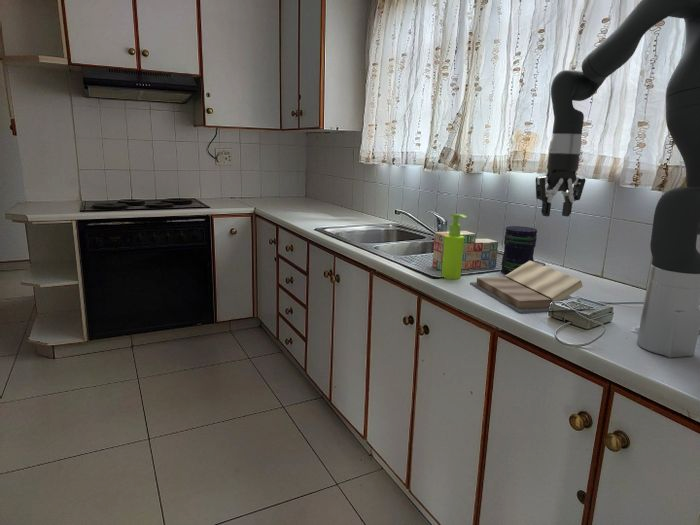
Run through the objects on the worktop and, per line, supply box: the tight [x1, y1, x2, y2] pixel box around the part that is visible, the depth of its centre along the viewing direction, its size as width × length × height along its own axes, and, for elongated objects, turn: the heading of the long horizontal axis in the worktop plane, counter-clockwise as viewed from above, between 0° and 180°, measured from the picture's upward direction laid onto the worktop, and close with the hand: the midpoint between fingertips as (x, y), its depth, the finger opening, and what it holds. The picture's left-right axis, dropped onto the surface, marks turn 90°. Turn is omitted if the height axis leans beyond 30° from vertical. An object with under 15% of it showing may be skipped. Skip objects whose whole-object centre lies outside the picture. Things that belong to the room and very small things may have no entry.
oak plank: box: [504, 261, 583, 302], centre depth 131 cm, size 22×9×2 cm, turn 14°
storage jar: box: [500, 225, 538, 276], centre depth 154 cm, size 10×10×15 cm
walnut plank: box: [476, 276, 551, 309], centre depth 130 cm, size 22×9×2 cm, turn 14°
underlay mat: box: [469, 281, 574, 314], centre depth 131 cm, size 26×22×1 cm
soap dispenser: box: [441, 213, 468, 280], centre depth 146 cm, size 6×7×20 cm
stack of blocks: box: [432, 230, 499, 271], centre depth 160 cm, size 21×6×12 cm, turn 107°
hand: (555, 215), depth 127 cm, fingers open, 5 cm apart
